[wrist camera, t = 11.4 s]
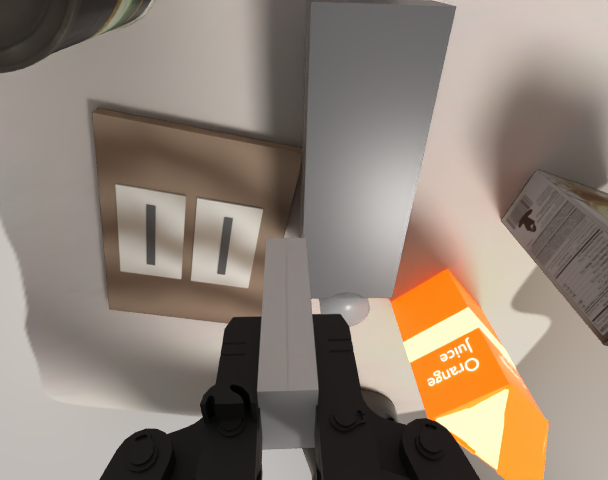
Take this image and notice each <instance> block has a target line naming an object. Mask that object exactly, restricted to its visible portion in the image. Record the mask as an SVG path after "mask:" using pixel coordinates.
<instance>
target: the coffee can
mask: <svg viewBox="0 0 608 480" xmlns="http://www.w3.org/2000/svg"><path fill="white" fill-rule="evenodd" d="M154 1H155V0H0V73H5V72H11V71H16V70H20V69H23V68H26V67H28V66H30V65H33V64H35V63H37V62H39V61H40V60H42V59H44V58H46V57H47V56H49V55H50V54H52V53H55V52H57V51H59V50H62V49H64V48H67V47H70V46H72V45H75V44H77V43H80V42H82V41H85V40H87V39H90V38H93V37H95V36H97V35H100V34H103V33H105V32H108V31H110V30H113V29H117V28H122V27H125V26H128V25H130V24H132V23H134V22H135V21H137V20H138V19H140V18H141V17H142V16H143V15H144V14H145V13H146V12H147V11H148V10H149V9H150V7H151V6H152V5H153V3H154Z"/></svg>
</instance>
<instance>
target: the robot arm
mask: <svg viewBox="0 0 608 480" xmlns="http://www.w3.org/2000/svg"><path fill="white" fill-rule="evenodd" d="M200 407H201V411H202V415H203V417H202V418H201V419H200V420H199V421H197V422H196V423H195V424H193V425H190V426H189V427H186V428H183V429H181V430H178V431H175V432H172V433H169V434H166V433H165V432H163V431H160V430H158V429H144V430H141V431H138V432H135V433H134V434H133V435H131V436H130V437H128V438H127V439H125V440H124V442H123V443H122V444H121V446H120V447H119V448H118V449H117V451H116V453H115V454H114V456H113V458H112V459H111V461H110V463H109V464H108V466H107V468H106V469H105V471H104V473H103V475H102V476H101V478H100V480H262V463H261V462H262V450H263V449H288V448H289V449H290V448H302V449H303V452H304V454H305V457H306V460H307V463H308V466H309V468H310V471H311V474H312V480H480V479H479V477H478V476H477V474H476V472H475V470H474V469H473V467H472V466H471V464H470V462H469V461H468V459H467V457H466V456H465V454H464V452H463V451H462V449H461V448H460V446H459V444H458V443H457V441H456V439H455V438H454V436H453V435H452V434H451V433H450V432H449V430H448V429H447V428H446V427H444V426H443V425H441V424H440V423H438V422H437V421H434V420H430V419H427V418H423V419H415V420H414V421H412V422H410V423H408V425H405V424H401V423H399V422H398V418H397V414H396V410H395V407H394V405H393V403H392V402H391V401H390V400H389V399H387V398H386V397H384V396H383V395H380V394H378V393H375V392H372V391H367V390H361V388H360V383H359V377H358V372H357V367H356V361H355V356H354V352H353V345H352V342H351V334H350V329H349V325H348V324H347V322H346V321H345V319H344V318H343V317H342V315H341V314H312V306H311V295H310V283H309V271H308V259H307V248H306V238H266V254H265V270H264V287H263V303H262V316H254V317H233V318H232V319H231V321H230V322H229V324H228V325H227V326H226V328H225V330H224V336H223V345H222V349H221V357H220V361H219V367H218V373H217V380H216V385H214V386H212V387H211V388H210V389H209V390H208V391H207V392H206V393H205V394H204V396H203V398H202V401H201V403H200Z"/></svg>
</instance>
